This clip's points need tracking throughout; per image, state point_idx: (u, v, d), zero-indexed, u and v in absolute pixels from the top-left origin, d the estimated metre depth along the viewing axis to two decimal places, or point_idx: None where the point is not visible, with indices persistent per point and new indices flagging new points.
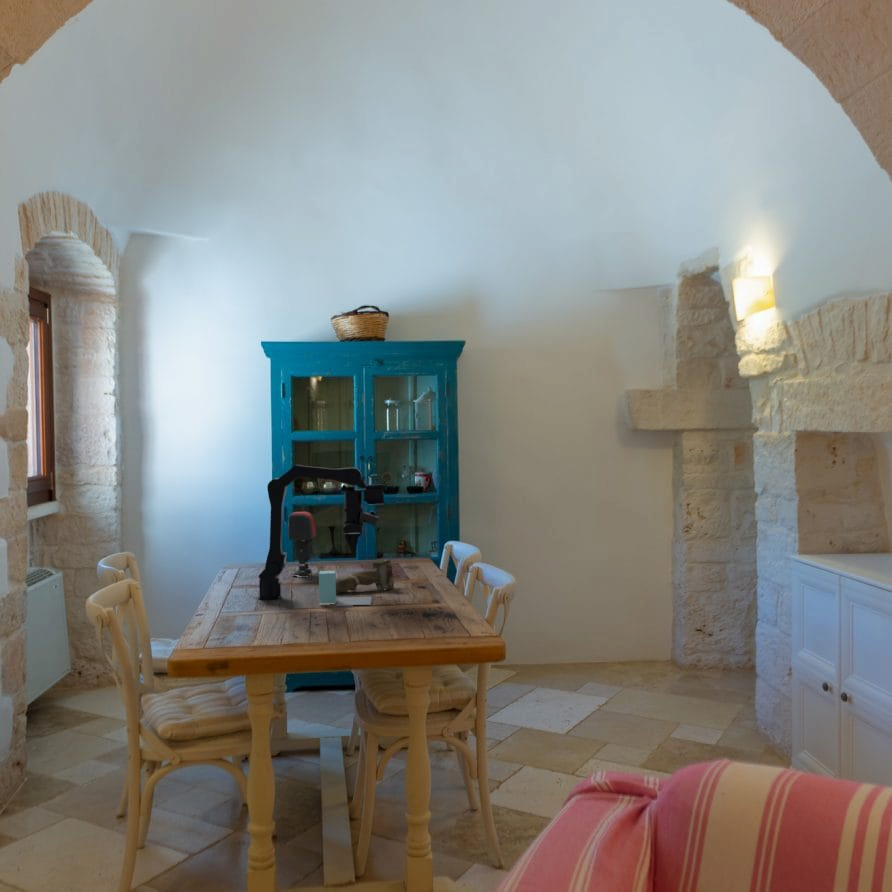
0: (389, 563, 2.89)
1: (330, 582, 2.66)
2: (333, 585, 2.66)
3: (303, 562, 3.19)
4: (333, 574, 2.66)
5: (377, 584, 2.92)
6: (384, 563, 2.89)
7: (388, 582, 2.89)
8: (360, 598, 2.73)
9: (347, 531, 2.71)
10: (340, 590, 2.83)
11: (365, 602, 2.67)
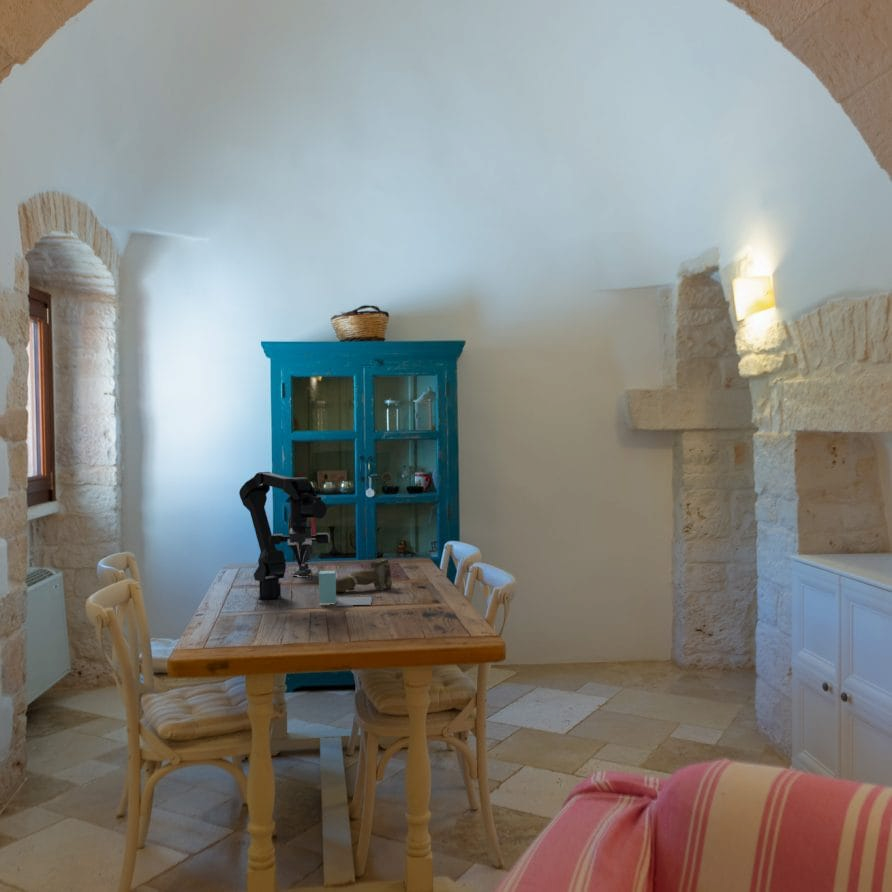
0: (387, 563, 2.90)
1: (330, 582, 2.66)
2: (333, 585, 2.66)
3: (303, 562, 3.19)
4: (333, 574, 2.66)
5: (375, 584, 2.93)
6: (382, 563, 2.89)
7: (386, 582, 2.90)
8: (360, 598, 2.73)
9: None
10: (338, 590, 2.84)
11: (365, 602, 2.67)
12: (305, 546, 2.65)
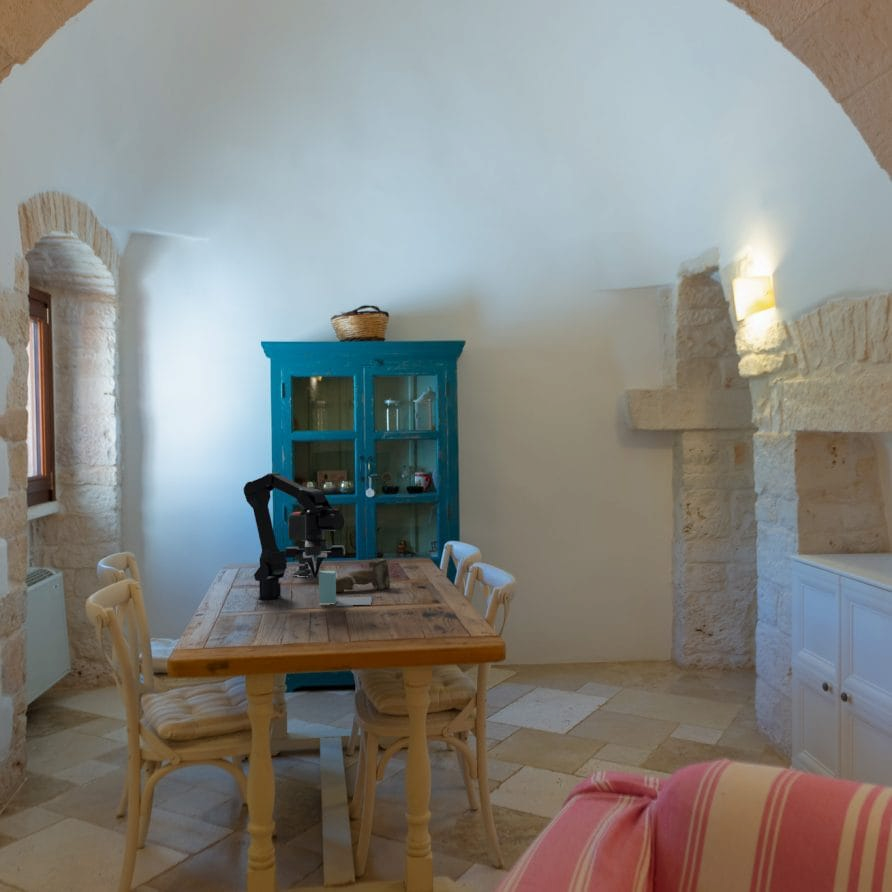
0: (385, 563, 2.91)
1: (330, 582, 2.66)
2: (333, 585, 2.66)
3: (303, 562, 3.19)
4: (333, 574, 2.66)
5: (373, 584, 2.93)
6: (380, 563, 2.90)
7: (384, 581, 2.90)
8: (360, 598, 2.73)
9: None
10: (336, 589, 2.84)
11: (365, 602, 2.67)
12: (320, 559, 2.66)
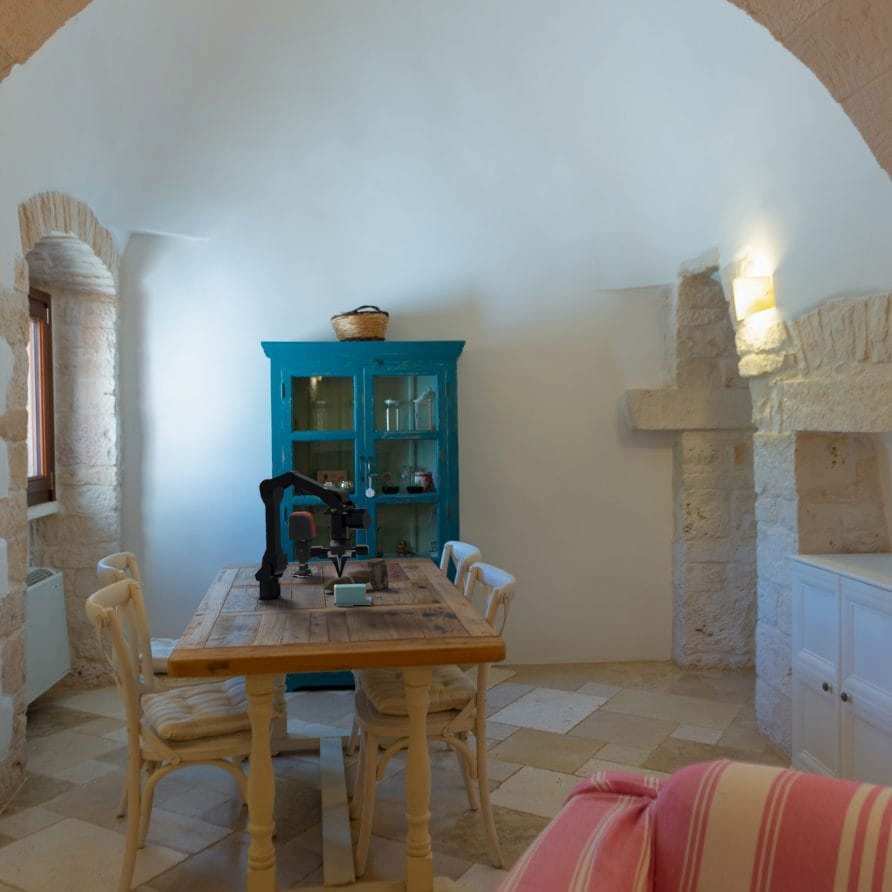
0: (383, 563, 2.91)
1: (356, 598, 2.67)
2: (353, 601, 2.67)
3: (303, 562, 3.19)
4: (364, 601, 2.67)
5: (372, 583, 2.94)
6: (379, 562, 2.90)
7: (382, 581, 2.91)
8: None
9: None
10: None
11: (365, 602, 2.67)
12: (345, 558, 2.66)
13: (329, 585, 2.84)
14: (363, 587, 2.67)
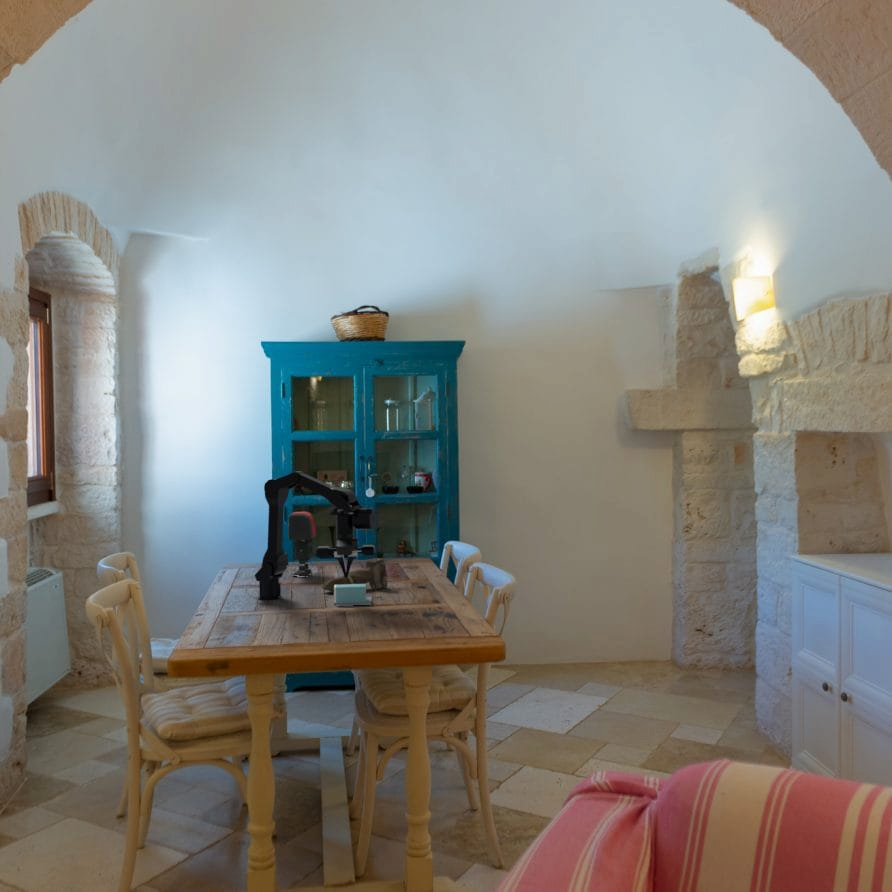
0: (382, 563, 2.91)
1: (356, 598, 2.67)
2: (353, 601, 2.67)
3: (303, 562, 3.19)
4: (364, 601, 2.67)
5: (370, 583, 2.94)
6: (378, 562, 2.91)
7: (381, 581, 2.91)
8: None
9: None
10: None
11: (365, 602, 2.67)
12: (351, 558, 2.66)
13: (328, 585, 2.84)
14: (363, 587, 2.67)
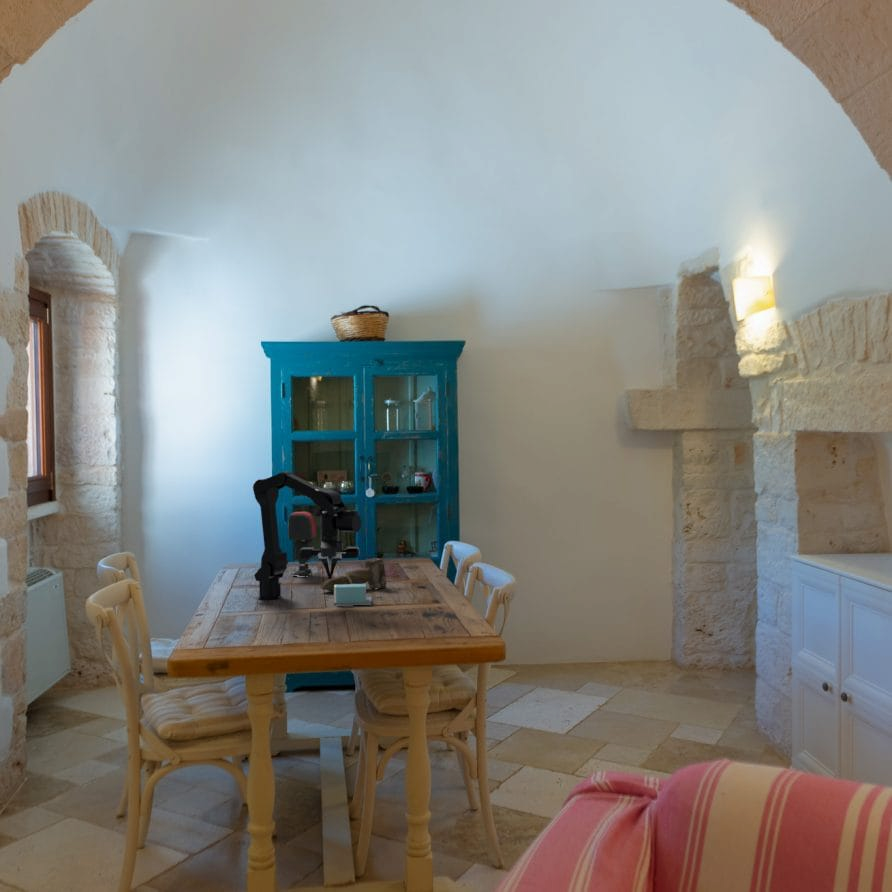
0: (381, 563, 2.92)
1: (356, 598, 2.67)
2: (353, 601, 2.67)
3: (303, 562, 3.19)
4: (364, 601, 2.67)
5: (369, 583, 2.95)
6: (377, 562, 2.91)
7: (380, 581, 2.92)
8: None
9: None
10: (333, 589, 2.85)
11: (365, 602, 2.67)
12: (336, 560, 2.66)
13: (327, 585, 2.85)
14: (363, 587, 2.67)
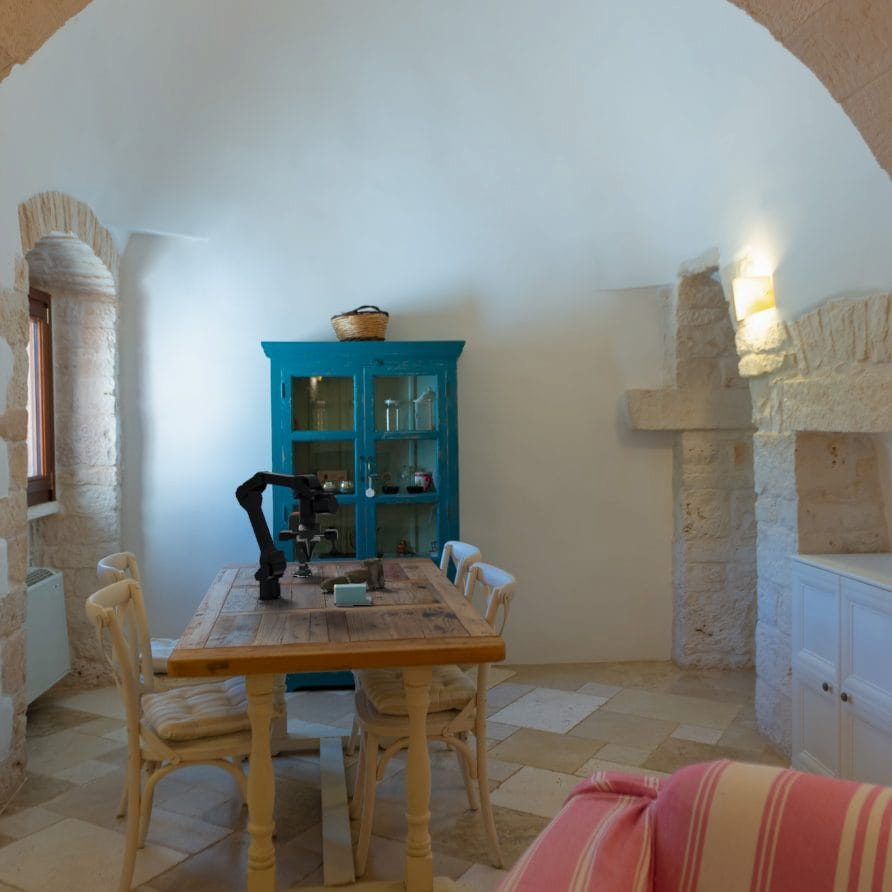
0: (380, 562, 2.92)
1: (356, 598, 2.67)
2: (353, 601, 2.67)
3: (303, 562, 3.19)
4: (364, 601, 2.67)
5: (368, 583, 2.95)
6: (375, 562, 2.92)
7: (379, 580, 2.92)
8: None
9: None
10: (331, 589, 2.86)
11: (365, 602, 2.67)
12: (314, 542, 2.68)
13: (325, 584, 2.85)
14: (363, 587, 2.67)
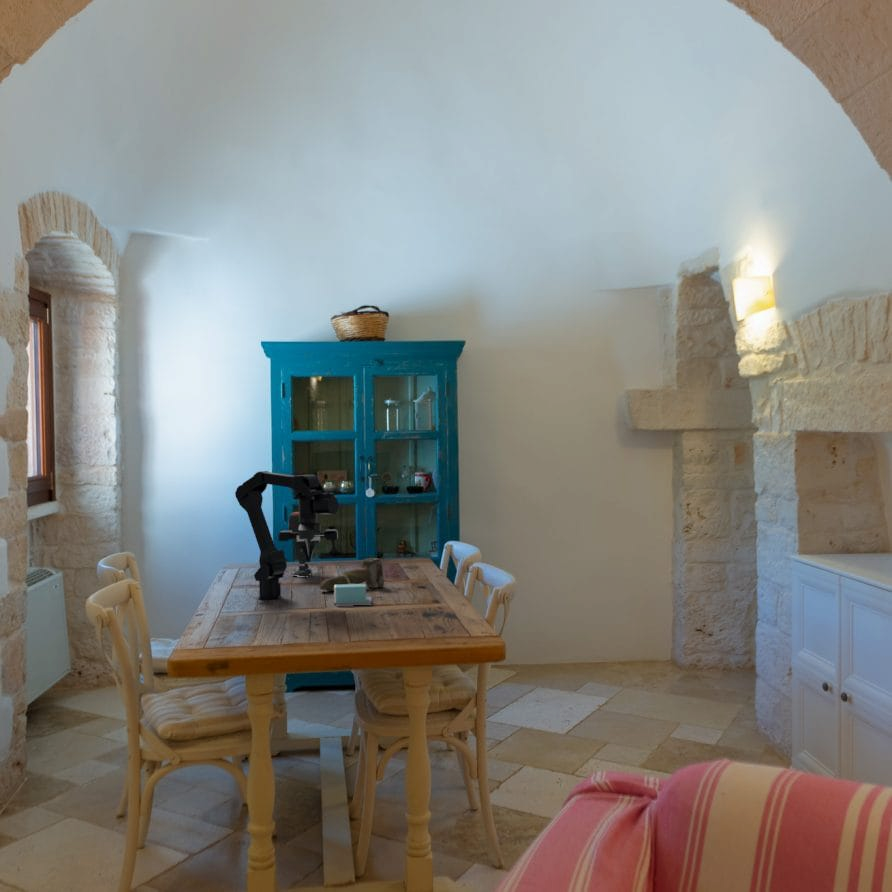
0: (379, 562, 2.93)
1: (356, 598, 2.67)
2: (353, 601, 2.67)
3: (303, 562, 3.19)
4: (364, 601, 2.67)
5: (367, 583, 2.95)
6: (374, 562, 2.92)
7: (378, 580, 2.92)
8: None
9: None
10: (331, 589, 2.86)
11: (365, 602, 2.67)
12: (314, 542, 2.68)
13: (325, 584, 2.85)
14: (363, 587, 2.67)
